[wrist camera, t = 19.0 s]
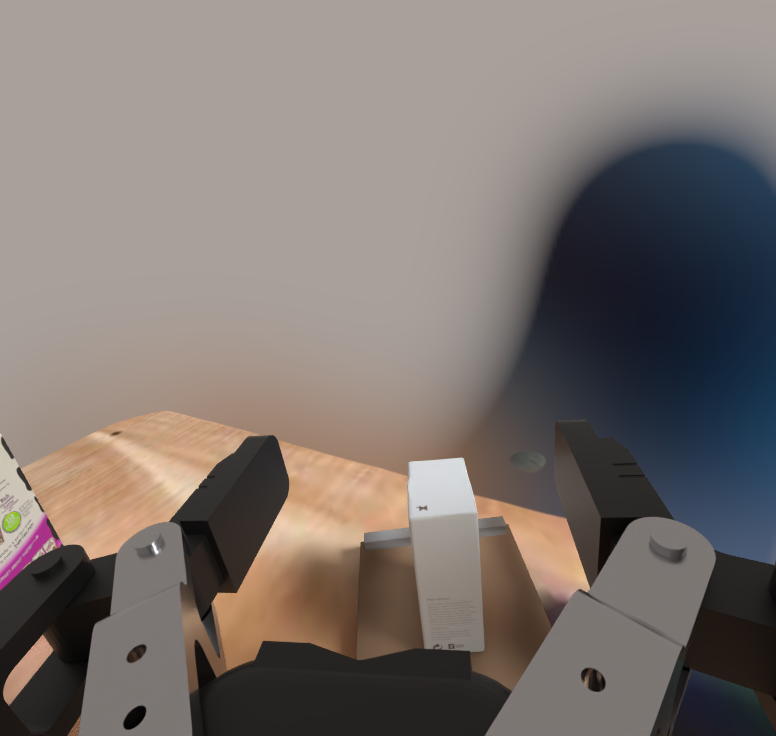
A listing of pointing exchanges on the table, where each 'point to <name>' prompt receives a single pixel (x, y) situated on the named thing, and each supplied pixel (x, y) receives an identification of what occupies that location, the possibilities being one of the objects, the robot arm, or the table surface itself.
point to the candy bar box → (20, 520)
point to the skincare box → (446, 554)
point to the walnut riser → (499, 601)
